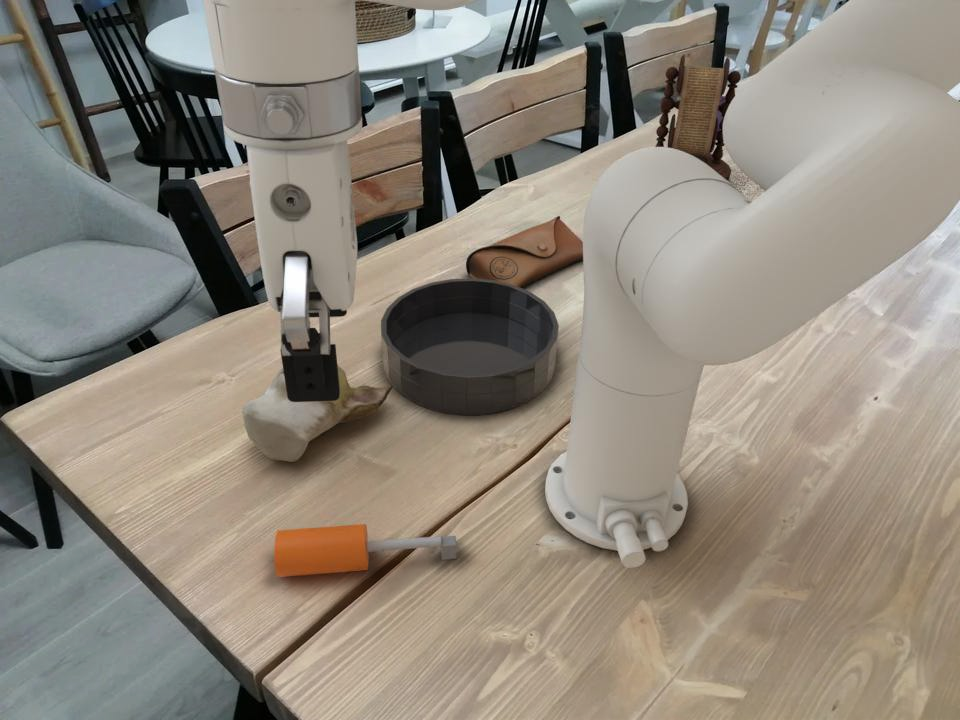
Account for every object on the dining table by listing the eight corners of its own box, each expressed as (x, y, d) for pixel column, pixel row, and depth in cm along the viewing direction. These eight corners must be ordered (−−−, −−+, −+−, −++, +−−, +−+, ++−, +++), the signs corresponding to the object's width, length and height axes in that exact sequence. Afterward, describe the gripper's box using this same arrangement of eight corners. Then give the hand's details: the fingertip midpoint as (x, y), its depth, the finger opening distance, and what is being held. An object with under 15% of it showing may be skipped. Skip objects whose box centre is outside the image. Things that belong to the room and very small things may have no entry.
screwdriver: (279, 586, 58) (272, 557, 56) (283, 550, 61) (277, 520, 59) (457, 572, 60) (457, 543, 58) (454, 537, 63) (454, 508, 61)
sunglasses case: (510, 296, 93) (492, 246, 92) (476, 302, 99) (459, 254, 97) (600, 251, 103) (585, 206, 102) (565, 259, 109) (550, 215, 108)
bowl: (570, 409, 77) (575, 371, 74) (384, 420, 75) (381, 381, 72) (538, 310, 92) (541, 275, 89) (383, 317, 90) (380, 281, 87)
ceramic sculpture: (199, 377, 65) (312, 309, 76) (213, 452, 70) (318, 377, 81) (291, 420, 61) (397, 341, 72) (299, 496, 66) (397, 411, 77)
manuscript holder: (638, 193, 121) (658, 65, 109) (639, 160, 132) (657, 42, 121) (731, 201, 119) (762, 72, 107) (723, 167, 130) (750, 47, 119)
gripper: (355, 159, 34) (373, 436, 44) (365, 59, 48) (377, 288, 58) (186, 159, 33) (244, 441, 43) (246, 58, 47) (279, 290, 57)
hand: (320, 353), depth 51 cm, fingers open, 9 cm apart
